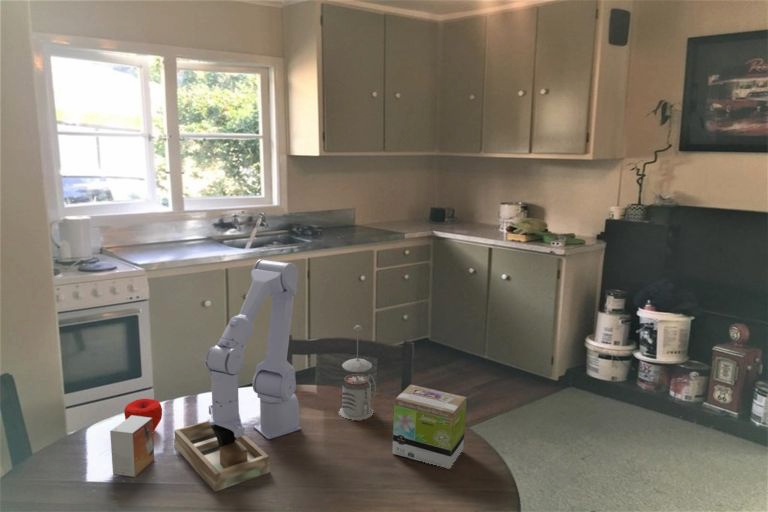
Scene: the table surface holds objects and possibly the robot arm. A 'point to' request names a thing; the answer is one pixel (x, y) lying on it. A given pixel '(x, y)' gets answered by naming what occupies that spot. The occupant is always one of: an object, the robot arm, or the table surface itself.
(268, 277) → the robot arm
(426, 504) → the table surface
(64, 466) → the table surface
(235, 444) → the walnut block
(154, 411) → the apple
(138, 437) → the small box
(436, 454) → the tea box
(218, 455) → the box
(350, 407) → the french press
